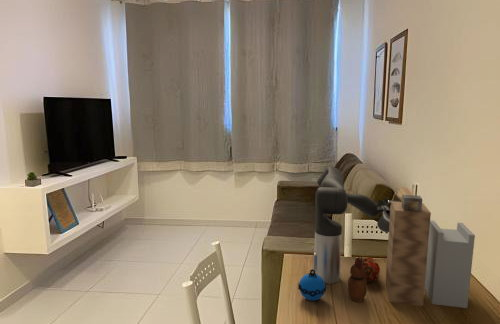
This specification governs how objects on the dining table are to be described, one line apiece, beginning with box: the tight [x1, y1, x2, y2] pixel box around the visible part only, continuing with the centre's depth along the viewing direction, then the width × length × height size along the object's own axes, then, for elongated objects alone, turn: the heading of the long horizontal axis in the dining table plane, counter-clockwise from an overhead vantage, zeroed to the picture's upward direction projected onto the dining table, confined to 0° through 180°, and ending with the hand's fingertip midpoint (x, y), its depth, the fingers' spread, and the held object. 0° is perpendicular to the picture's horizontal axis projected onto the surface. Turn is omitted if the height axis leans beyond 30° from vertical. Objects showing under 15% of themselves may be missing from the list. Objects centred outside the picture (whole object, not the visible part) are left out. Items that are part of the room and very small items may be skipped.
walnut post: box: [384, 200, 432, 307], centre depth 119 cm, size 10×11×30 cm
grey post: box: [424, 220, 476, 309], centre depth 119 cm, size 10×12×24 cm
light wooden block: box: [397, 186, 423, 212], centre depth 121 cm, size 5×20×4 cm, turn 166°
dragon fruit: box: [362, 256, 381, 283], centre depth 132 cm, size 8×8×12 cm
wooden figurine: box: [347, 255, 367, 302], centre depth 118 cm, size 7×6×15 cm
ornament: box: [297, 268, 327, 301], centre depth 118 cm, size 9×9×10 cm
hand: (399, 201), depth 137 cm, fingers open, 8 cm apart
